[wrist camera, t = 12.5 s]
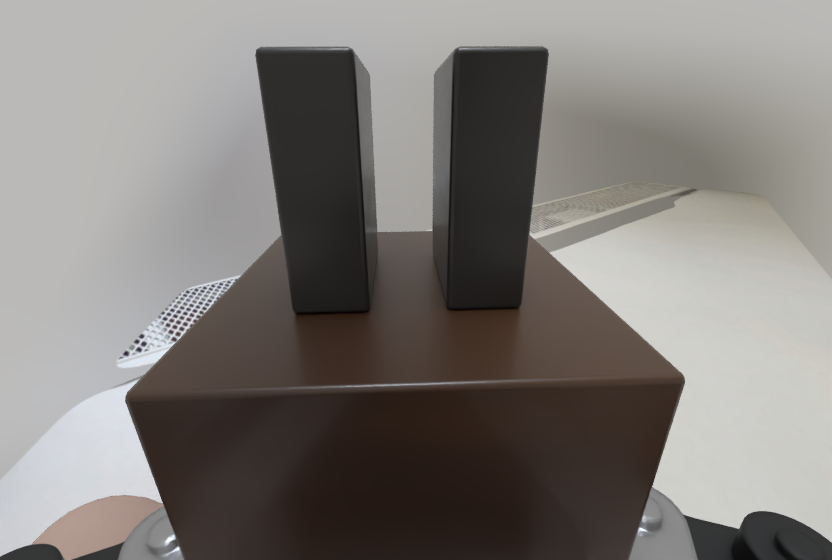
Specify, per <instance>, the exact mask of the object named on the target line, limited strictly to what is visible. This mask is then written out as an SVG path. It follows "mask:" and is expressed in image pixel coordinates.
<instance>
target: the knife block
mask: <svg viewBox="0 0 832 560" xmlns="http://www.w3.org/2000/svg"><path fill="white" fill-rule="evenodd" d="M548 56H549V54H548V49H546V48H544V47H458V48H456V49H455V50H454V51H453V52H452V53H451V54H450V55H449V57H448V58H447V59H446V60H445V61H444V62H443V64H442V65H441V66H440V67H439V68H438V69H437V71H436V72H435V74H434V140H433V231H421V232H377V219H376V198H375V176H374V156H373V136H372V114H371V92H370V75H369V73H368V71H367V70H366V68H365V67H364V65H363V64H362V62H361V61H360V59H359V58H358V56H357V55H356V54H355V52H354V51H353V49H351V48H349V47H261V48H259V49H257V50H256V63H257V69H258V76H259V82H260V90H261V96H262V104H263V111H264V118H265V124H266V131H267V138H268V145H269V152H270V158H271V165H272V172H273V179H274V186H275V193H276V200H277V206H278V214H279V221H280V227H281V234H282V235H281V236H280V237H279V238H278V239H277V240H276V241H275V242H274V243H273V244H272V245H271V246H270V247H269V248H268V249H267V250H266V251H265V252H264V253H263V254H262V255H261V256H260V257H259V258H258V259H257V260H256V261H255V262H254V263H253V264H252V265H251V266H250V267H249V268H248V270H247V271H246V272H245V273H244V274H243V275H242V276H241V277H240V278H239V279H238V280H237V281H236V282H235V283H234V284H233V285H232V286H231V287H230V288H229V289H228V290H227V291H226V292H225V293H224V294H223V295H222V296H221V297H220V298H219V299H218V300H217V301H216V302H215V303H214V304H213V305H212V306H211V307H210V308H209V309H208V310H207V311H206V312H205V313H204V315H203V316H202V317H201V318H200V319H199V320H198V321H197V322H196V323H195V324H194V325H193V326H192V327H191V328H190V329H189V330H188V331H187V332H186V333H185V334H184V335H183V336H182V337H181V338H180V339H179V340H178V341H177V342H176V343H175V344H174V345H173V346H172V347H171V348H170V349H169V350H168V351H167V352H166V353H165V354H164V355H163V356H162V357H161V359H160V360H159V361H158V362H157V363H156V364H155V365H154V366H153V367H152V368H151V369H150V370H149V371H148V372H147V373H146V374H145V375H144V376H143V377H142V378H141V379H140V380H139V381H138V382H137V383H136V384H135V385H134V386H133V387H132V388H131V389H130V390H129V391H128V392H127V395H126V399H125V402H126V404H127V407H128V410H129V412H130V415H131V418H132V421H133V423H134V426H135V429H136V431H137V434H138V437H139V440H140V442H141V445H142V448H143V450H144V453H145V456H146V458H147V461H148V464H149V467H150V469H151V472H152V475H153V477H154V480H155V483H156V486H157V488H158V491H159V494H160V496H161V499H162V502H163V505H164V507H165V510H166V513H167V515H168V518H169V521H170V524H171V526H172V529H173V532H174V534H175V537H176V540H177V542H178V545H179V548H180V551H181V553H182V556H183V559H184V560H629V557H630V554H631V551H632V548H633V545H634V542H635V538H636V535H637V532H638V529H639V526H640V523H641V520H642V516H643V513H644V510H645V507H646V504H647V501H648V497H649V494H650V491H651V488H652V485H653V482H654V478H655V475H656V472H657V469H658V466H659V463H660V460H661V456H662V453H663V450H664V447H665V444H666V441H667V437H668V434H669V431H670V428H671V425H672V422H673V418H674V415H675V412H676V409H677V406H678V403H679V400H680V396H681V393H682V390H683V387H684V384H685V379H684V376H683V374H682V373H681V372H680V371H678V370H677V369H676V368H675V367H674V366H673V365H672V364H671V363H670V362H669V361H667V360H666V359H665V358H664V357H663V356H662V355H661V354H660V353H659V352H658V351H656V350H655V349H654V348H653V347H652V346H651V345H650V344H649V343H648V342H647V341H645V340H644V339H643V338H642V337H641V336H640V335H639V334H638V333H637V332H636V331H634V330H633V329H632V328H631V327H630V326H629V325H628V324H627V323H626V322H625V321H623V320H622V319H621V318H620V317H619V316H618V315H617V314H616V313H615V312H614V311H612V310H611V309H610V308H609V307H608V306H607V305H606V304H605V303H604V302H603V301H601V300H600V299H599V298H598V297H597V296H596V295H595V294H594V293H593V292H592V291H590V290H589V289H588V288H587V287H586V286H585V285H584V284H583V283H582V282H581V281H579V280H578V279H577V278H576V277H575V276H574V275H573V274H572V273H571V272H570V271H569V270H567V269H566V268H565V267H564V266H563V265H562V264H561V263H560V262H559V261H558V260H556V259H555V258H554V257H553V256H552V255H551V254H550V253H549V252H548V251H547V250H545V249H544V248H543V247H542V246H541V245H540V244H539V243H538V242H537V241H536V240H534V239H533V238H532V237H531V236H530V235H529V231H530V222H531V213H532V202H533V194H534V185H535V175H536V166H537V157H538V147H539V138H540V129H541V121H542V111H543V102H544V93H545V84H546V74H547V65H548Z"/></svg>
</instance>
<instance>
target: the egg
mask: <svg viewBox="0 0 832 560" xmlns="http://www.w3.org/2000/svg"><path fill="white" fill-rule="evenodd" d="M163 506H164V505H163V504H162V503H159V502H157V501H154V500H151V499H149V498H145V497H137V496H128V495H122V496H110V497H106V498H102V499H98V500H95V501H92V502H90V503H87V504H85V505H83V506H81V507H79V508H76V509H74V510H72V511H70V512H69V513H67V514H66V515H64V516H63V517H62V518H60V519H59V520H57V521H56V522H55V523H53V524H52V525H51V526H50V527H49V528H48V529H46V530H45V531H44V532H43V533H42V534H41V535H40V536H39V537H38V538H37V539H36V540H35V541H34V542H33V543H32V545H33V544H50V545H53V546H55V547H56V548H58V549H59V551H60V552H61V554H62V556H63V558H64V560H72V559H75V558H78V557H81V556H84V555H87V554H90V553H93V552H96V551H99V550H102V549H105V548H108V547H111V546H114V545H117V544H120V543H122V542H125V540H126V539H127V537H128V536H129V534H130V533H131V532H132V530H133V529H134V528H135V527H136V526H137V525H138V524H139V523H140V522H141V521H142V520H143V519H145V518H146V517H147V516H148V515H150V514H151V513H153V512H154V511H156V510H157V509H159V508H161V507H163Z"/></svg>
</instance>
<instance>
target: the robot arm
mask: <svg viewBox="0 0 832 560" xmlns="http://www.w3.org/2000/svg"><path fill="white" fill-rule="evenodd" d="M0 560H64V558H63V556H62V554H61V552H60V551H59V549H58V548H56V547H55V546H53V545H50V544H33V545H29V546H25V547H22V548H19V549H16V550H14V551H11V552H9V553H7V554H5V555H3V556H1V557H0ZM72 560H184V559H183V556H182V553H181V551H180V548H179V545H178V542H177V540H176V537H175V534H174V532H173V529H172V526H171V524H170V521H169V518H168V515H167V513H166V510H165V507H164V506H163V507H161V508H159V509H157V510H156V511H154V512H153V513H151V514H150V515H148V516H147V517H146V518H145V519H143V520H142V521H141V522H140V523H139V524H138V525H137V526H136V527H135V528H134V529H133V530H132V532H131V533H130V534H129V536H128V537H127V539H126V540H125V542H122V543H120V544H117V545H114V546H111V547H108V548H105V549H102V550H99V551H96V552H93V553H90V554H87V555H84V556H81V557H78V558H75V559H72ZM629 560H832V543H831V542H830V541H829V540H827V539H826V538H825V537H823V536H822V535H821V534H819V533H818V532H816V531H815V530H813V529H812V528H810V527H808V526H806V525H804V524H803V523H801V522H799V521H796V520H794V519H792V518H789V517H787V516H784V515H781V514H777V513H773V512H767V511H758V512H753V513H750V514H748V515H747V516H746V517H745V518H744V520H743V522H742V524H741V526H740V528H739V529H736V528H732V527H728V526H724V525H720V524H716V523H712V522H708V521H704V520H699V519H695V518H692V517H689V516H686V515H683V514H682V513H681V511H680V510H679V509H678V507H677V506H676V505H675V504H674V503H673V502H672V501H671V500H670V499H669V498H667V497H666V496H665V495H664V494H662V493H661V492H659V491H658V490H656V489H654V488H651V491H650V494H649V497H648V501H647V504H646V507H645V510H644V513H643V516H642V520H641V523H640V526H639V529H638V532H637V535H636V538H635V542H634V545H633V548H632V551H631V554H630V557H629Z"/></svg>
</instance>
